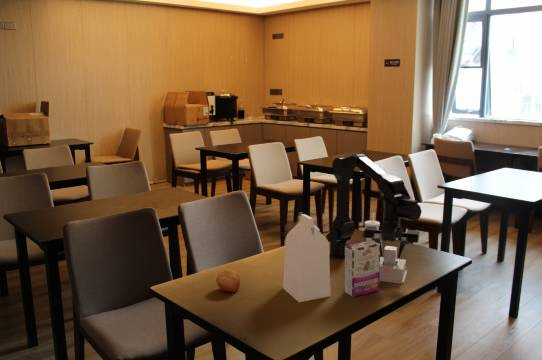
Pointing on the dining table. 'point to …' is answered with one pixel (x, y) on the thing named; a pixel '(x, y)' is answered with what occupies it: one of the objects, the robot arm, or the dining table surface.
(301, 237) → the milk
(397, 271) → the stand base
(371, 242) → the candy bar box
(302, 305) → the dining table surface
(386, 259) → the column
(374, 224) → the smoothie
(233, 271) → the fruit
